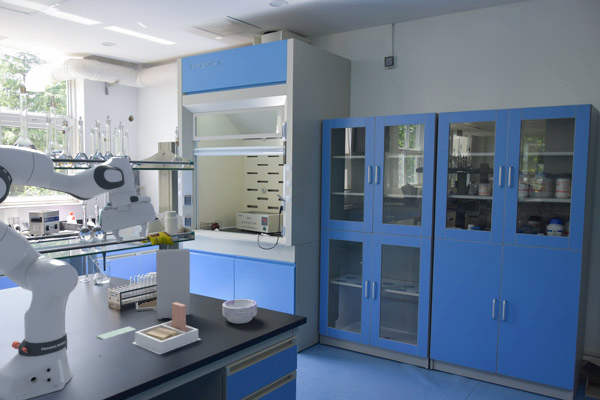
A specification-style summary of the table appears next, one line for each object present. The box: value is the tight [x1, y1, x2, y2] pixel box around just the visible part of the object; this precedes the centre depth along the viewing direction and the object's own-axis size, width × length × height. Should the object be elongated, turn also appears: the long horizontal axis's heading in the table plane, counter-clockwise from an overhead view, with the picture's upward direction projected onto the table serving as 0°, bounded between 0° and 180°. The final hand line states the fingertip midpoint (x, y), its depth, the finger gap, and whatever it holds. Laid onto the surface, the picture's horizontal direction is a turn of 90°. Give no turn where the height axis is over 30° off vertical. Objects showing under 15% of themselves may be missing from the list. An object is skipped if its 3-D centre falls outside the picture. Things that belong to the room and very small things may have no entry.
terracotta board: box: [171, 302, 187, 332], centre depth 178 cm, size 2×6×13 cm, turn 53°
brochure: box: [155, 248, 191, 320], centre depth 205 cm, size 14×6×30 cm, turn 108°
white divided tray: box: [132, 320, 201, 356], centre depth 174 cm, size 19×17×5 cm
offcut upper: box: [146, 328, 177, 341], centre depth 172 cm, size 7×9×2 cm
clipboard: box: [135, 299, 157, 312], centre depth 227 cm, size 19×2×30 cm
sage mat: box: [96, 326, 137, 340], centre depth 181 cm, size 14×14×1 cm
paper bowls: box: [221, 298, 258, 325], centre depth 202 cm, size 15×15×8 cm
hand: (131, 239), depth 163 cm, fingers open, 8 cm apart
